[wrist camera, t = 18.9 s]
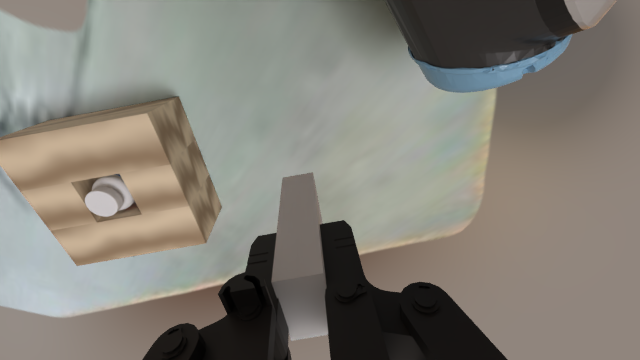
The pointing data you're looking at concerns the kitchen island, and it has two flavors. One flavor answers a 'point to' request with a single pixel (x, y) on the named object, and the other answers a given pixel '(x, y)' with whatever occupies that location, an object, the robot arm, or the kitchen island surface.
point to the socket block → (108, 159)
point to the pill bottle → (108, 196)
